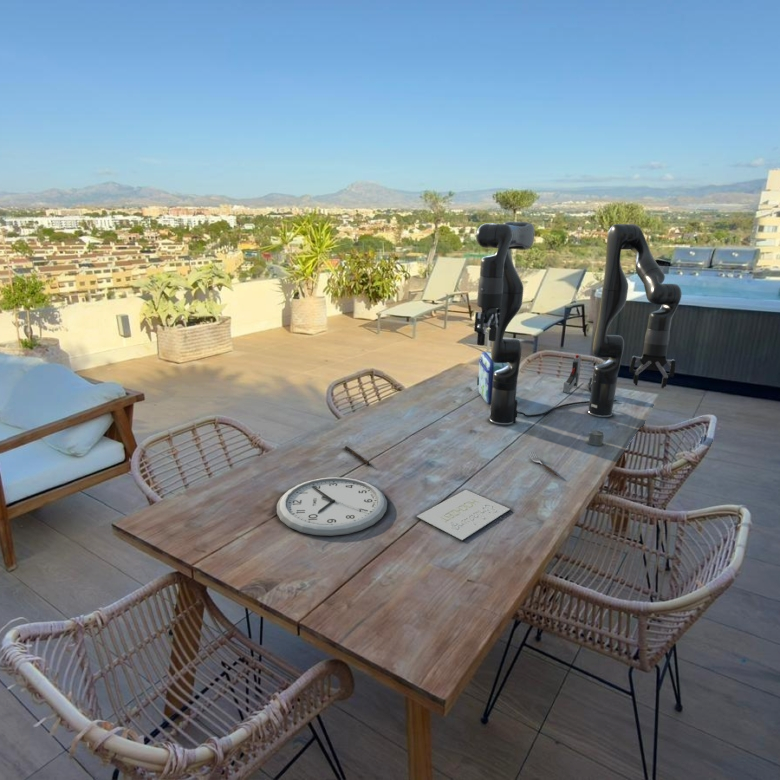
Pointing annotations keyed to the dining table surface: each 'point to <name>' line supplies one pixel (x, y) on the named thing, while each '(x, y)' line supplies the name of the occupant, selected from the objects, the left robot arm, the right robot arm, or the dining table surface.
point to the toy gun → (573, 375)
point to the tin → (595, 437)
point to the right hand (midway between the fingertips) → (648, 386)
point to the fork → (541, 463)
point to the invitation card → (463, 514)
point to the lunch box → (487, 375)
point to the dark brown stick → (357, 455)
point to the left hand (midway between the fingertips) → (486, 342)
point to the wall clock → (331, 506)
